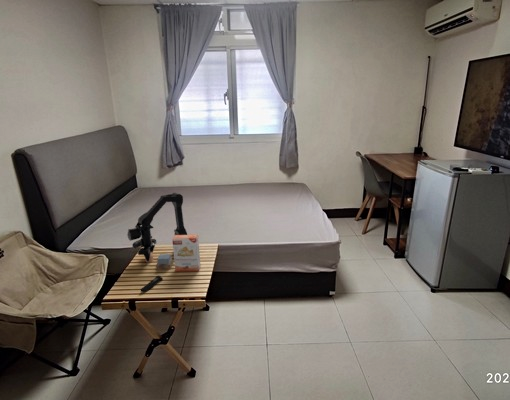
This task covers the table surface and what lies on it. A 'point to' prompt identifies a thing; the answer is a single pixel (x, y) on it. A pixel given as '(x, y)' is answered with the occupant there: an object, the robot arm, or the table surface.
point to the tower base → (164, 265)
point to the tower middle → (164, 259)
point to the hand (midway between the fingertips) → (149, 259)
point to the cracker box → (186, 252)
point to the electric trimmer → (151, 283)
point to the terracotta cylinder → (150, 258)
